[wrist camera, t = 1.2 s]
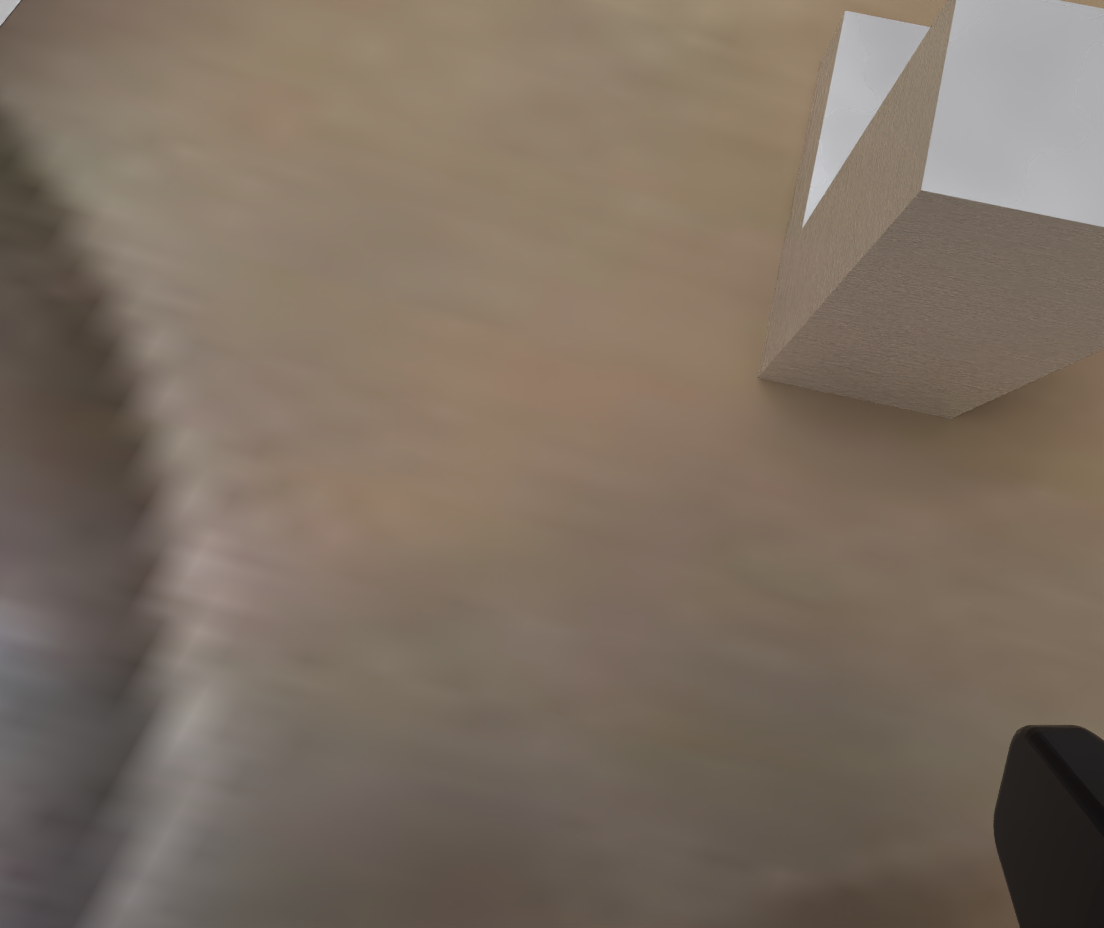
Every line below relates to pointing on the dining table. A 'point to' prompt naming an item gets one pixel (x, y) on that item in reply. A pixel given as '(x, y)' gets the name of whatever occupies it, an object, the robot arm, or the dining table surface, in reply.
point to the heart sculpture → (7, 8)
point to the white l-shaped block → (947, 208)
